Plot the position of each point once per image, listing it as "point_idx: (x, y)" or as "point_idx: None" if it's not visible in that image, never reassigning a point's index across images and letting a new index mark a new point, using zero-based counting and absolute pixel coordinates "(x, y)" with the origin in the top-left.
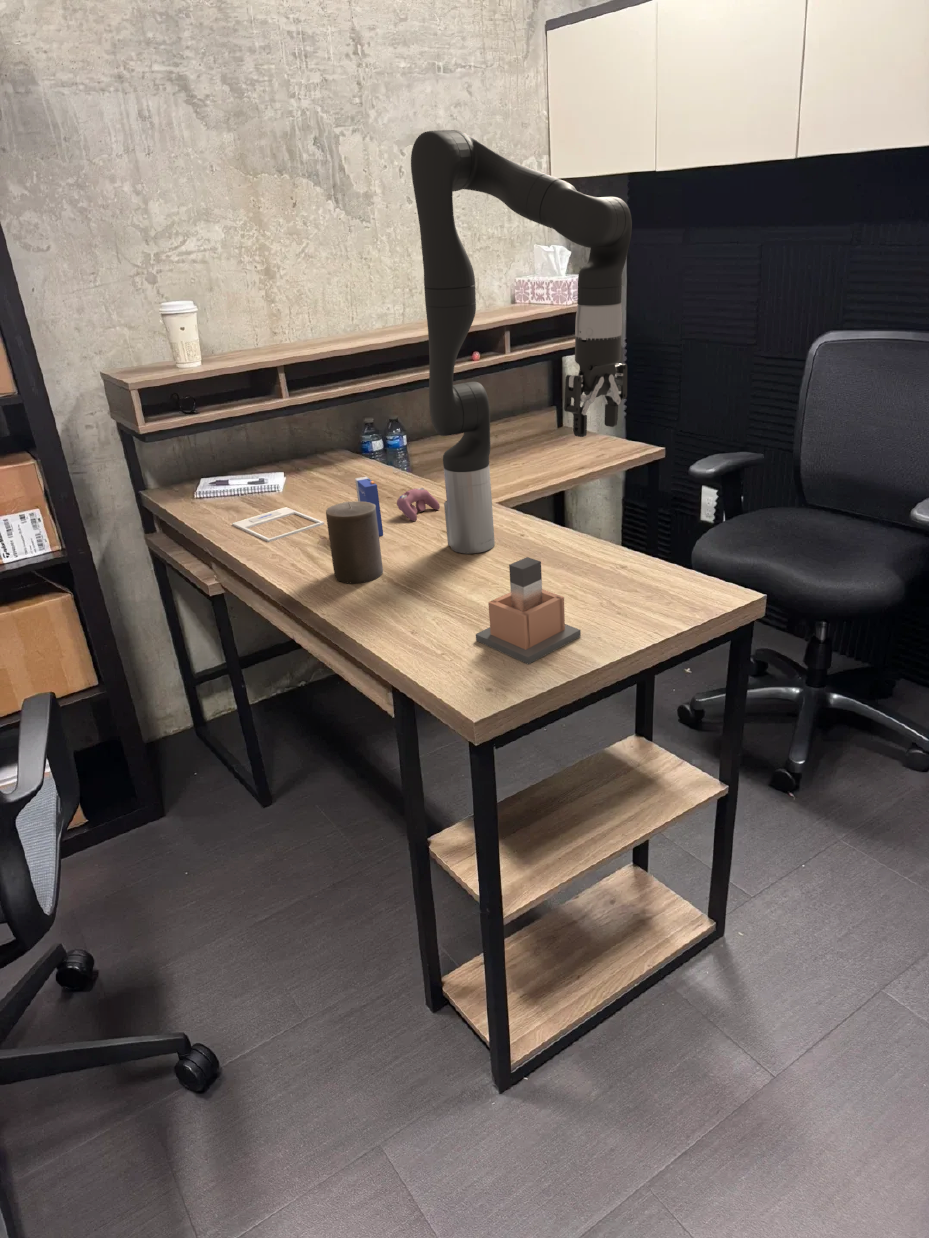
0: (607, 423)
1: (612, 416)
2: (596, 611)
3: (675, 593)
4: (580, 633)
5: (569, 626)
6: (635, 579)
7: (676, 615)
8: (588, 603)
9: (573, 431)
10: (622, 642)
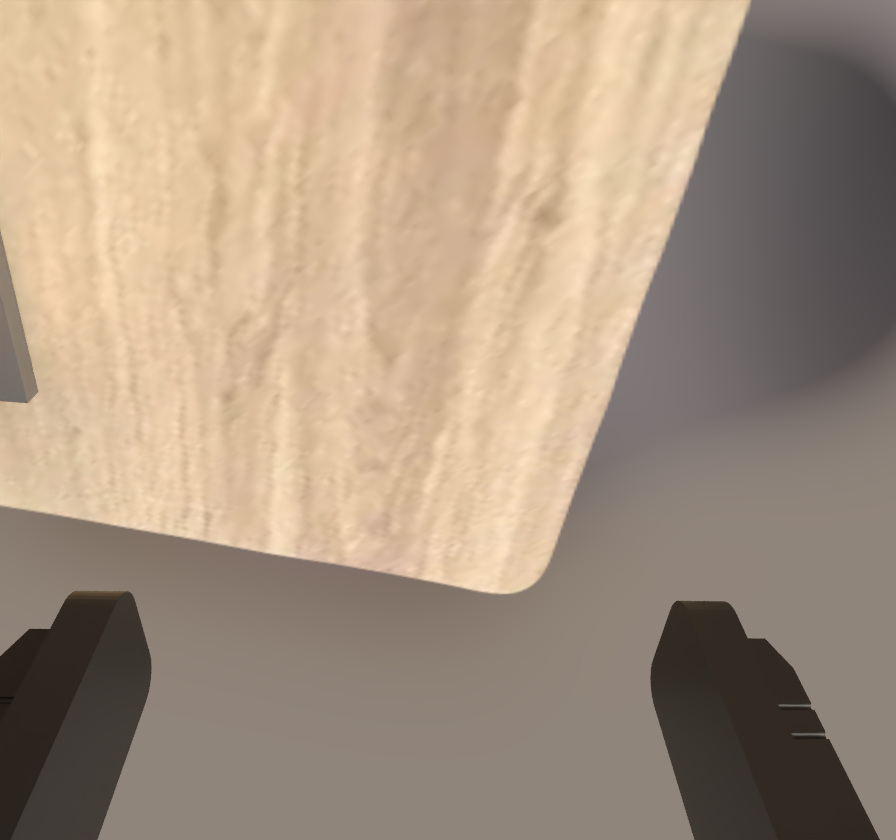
0: (677, 642)
1: (687, 772)
2: (190, 340)
3: (443, 451)
4: (33, 396)
5: (14, 367)
6: (470, 310)
7: (323, 510)
8: (216, 288)
9: (10, 647)
10: (106, 484)
